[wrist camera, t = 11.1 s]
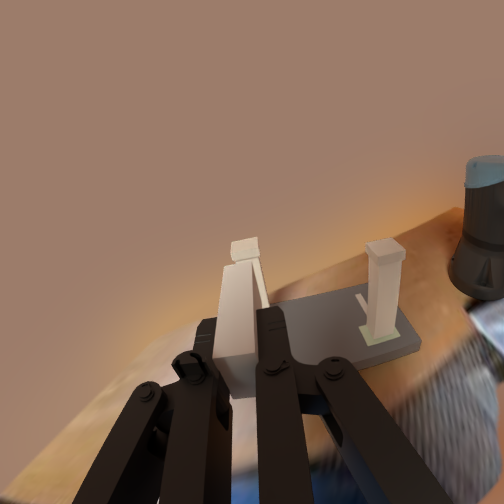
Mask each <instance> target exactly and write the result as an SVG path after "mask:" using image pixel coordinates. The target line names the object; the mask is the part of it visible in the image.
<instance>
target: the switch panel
mask: <svg viewBox="0 0 504 504" xmlns="http://www.w3.org/2000/svg"><path fill="white" fill-rule="evenodd" d="M273 306H279V307H280V308H281V309H282V311H283V312H284V316H285V321H286V326H287V331H288V337H289V342H290V348H291V354H292V356H293V357H294V359H295V360H297V361H298V362H300V363H303V364H308V365H318V364H319V362H321V361H322V360H324V359H325V358H329V357H332V356H338V357H343V358H346V359H347V360H349V361H350V362H351V363H352V364H353V366H354V367H355V368H356V370H357V371H358V370H361V369H365V368H368V367H372V366H375V365H378V364H381V363H384V362H387V361H390V360H393V359H396V358H399V357H402V356H405V355H408V354H410V353H413V352H416V351H418V350H419V348H420V345H421V341H422V340H421V339H420V337H419V336H418V334H417V333H416V331H415V330H414V328H413V327H412V325H411V324H410V323H409V321H408V320H407V318H406V317H405V315H404V314H403V313H402V311H401V310H400V308H399V307H398V306H397V313H396V320H395V326H394V332H393V334H390V335H387V336H384V337H380V338H377V339H373V337H372V335H371V333H370V331H369V329H368V328H367V326H366V323H367V307H368V283H365V284H361V285H357V286H352V287H348V288H344V289H340V290H335V291H331V292H326V293H322V294H317V295H312V296H308V297H303V298H298V299H293V300H288V301H283V302H278V303H273V304H270V307H273Z"/></svg>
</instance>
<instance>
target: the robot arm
mask: <svg viewBox="0 0 504 504" xmlns="http://www.w3.org/2000/svg"><path fill="white" fill-rule="evenodd" d="M464 186H465V209H464V221H463V231H462V237H461V239H460V241H459V243H458V246H457V248H456V250H455V253H454V255H453V256H452V258H451V261H450V267H449V277H450V279H451V281H452V283H453V284H454V285H455V286H456V287H457V288H458V289H459V290H461V291H462V292H463V293H465V294H467V295H469V296H471V297H474V298H477V299H481V300H499V299H502V298H504V156H499V155H489V156H479V157H474V158H472V159H470V160H469V161H468V163H467V165H466V180H465V183H464ZM194 343H195V344H194V346H193V350H190V351H186V352H183V353H181V354H179V355H178V356H177V357H176V358H175V359H174V360H173V362H172V364H171V365H172V367H173V369H174V370H175V372H176V373H177V375H178V376H179V378H180V380H179V381H177V382H175V383H172V384H169V385H166V386H163V387H160V385H159V384H158V383H156V382H152V381H148V382H144V383H142V384H140V385H139V386H137V387H136V389H135V390H134V391H133V393H132V395H131V396H130V398H129V400H128V401H127V403H126V405H125V407H124V408H123V410H122V412H121V414H120V415H119V417H118V419H117V421H116V422H115V424H114V426H113V428H112V429H111V431H110V433H109V435H108V437H107V438H106V440H105V442H104V444H103V446H102V447H101V449H100V451H99V453H98V455H97V457H96V458H95V460H94V462H93V464H92V466H91V468H90V470H89V471H88V473H87V475H86V477H85V479H84V481H83V483H82V485H81V487H80V489H79V491H78V492H77V494H76V496H75V498H74V500H73V502H72V504H157V501H158V499H159V504H231V466H232V420H233V410H232V406H231V404H230V402H229V400H230V394H231V396H232V398H233V399H241V398H249V397H256V413H257V444H258V474H259V504H314V497H313V490H312V482H311V475H310V467H309V460H308V453H307V446H306V440H305V433H304V426H303V420H302V414H312V415H319V416H320V418H321V420H322V421H323V423H324V425H325V427H326V429H327V431H328V432H329V434H330V436H331V438H332V440H333V442H334V443H335V445H336V447H337V449H338V451H339V452H340V454H341V456H342V458H343V460H344V461H345V463H346V465H347V467H348V469H349V470H350V472H351V474H352V476H353V478H354V479H355V481H356V483H357V485H358V486H359V488H360V490H361V492H362V494H363V495H364V497H365V499H366V501H367V502H368V504H453V502H452V501H451V499H450V498H449V496H448V495H447V494H446V492H445V491H444V489H443V488H442V486H441V485H440V484H439V482H438V481H437V479H436V478H435V477H434V475H433V474H432V472H431V471H430V470H429V468H428V467H427V465H426V464H425V463H424V461H423V460H422V458H421V457H420V456H419V454H418V453H417V451H416V450H415V449H414V447H413V446H412V444H411V443H410V442H409V440H408V439H407V438H406V436H405V435H404V433H403V432H402V431H401V429H400V428H399V427H398V425H397V424H396V422H395V421H394V420H393V418H392V417H391V416H390V414H389V413H388V412H387V410H386V409H385V407H384V406H383V405H382V403H381V402H380V401H379V399H378V398H377V397H376V395H375V394H374V393H373V391H372V390H371V389H370V387H369V386H368V385H367V383H366V382H365V380H364V379H363V378H362V376H361V375H360V374H359V372H358V371H357V370H356V368H355V367H354V366H353V364H352V363H351V362H350V361H349V360H347V359H346V358H343V357H338V356H332V357H329V358H325V359H324V360H322V361H321V362H319V364H318V365H308V364H303V363H300V362H298V361H297V360H295V359H294V357H293V356H292V354H291V348H290V342H289V337H288V331H287V326H286V321H285V316H284V312H283V311H282V309H281V308H280V307H279V306H273V307H267V308H262V300H261V296H260V292H259V288H258V284H257V280H256V276H255V272H254V268H253V265H252V261H248V262H243V263H238V264H233V265H228V266H224V272H223V279H222V287H221V294H220V301H219V310H218V316H217V317H215V318H209V319H203V320H202V321H201V323H200V324H199V326H198V327H197V331H196V337H195V341H194ZM159 497H160V498H159Z"/></svg>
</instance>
